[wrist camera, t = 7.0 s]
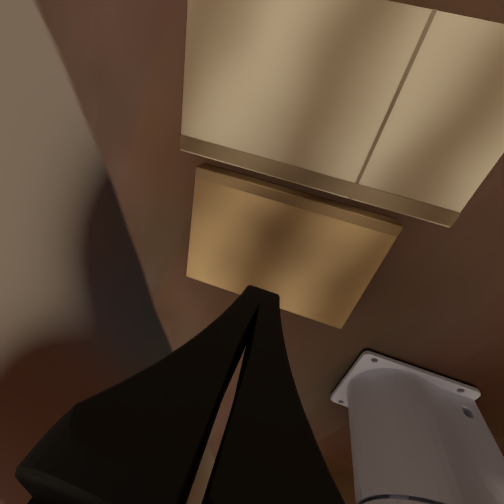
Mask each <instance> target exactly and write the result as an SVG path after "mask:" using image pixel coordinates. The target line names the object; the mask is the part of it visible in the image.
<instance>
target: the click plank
mask: <svg viewBox="0 0 504 504" xmlns="http://www.w3.org/2000/svg"><path fill="white" fill-rule="evenodd" d="M402 229H403V227H402V225H401V224H400V222H399V221H398V220H397V219H394V218H390V217H387V216H383V215H380V214H377V213H373V212H370V211H366V210H363V209H359V208H356V207H353V206H349V205H346V204H342V203H339V202H335V201H332V200H328V199H325V198H322V197H318V196H315V195H311V194H308V193H304V192H301V191H297V190H294V189H291V188H287V187H284V186H280V185H277V184H273V183H270V182H267V181H263V180H260V179H256V178H253V177H249V176H246V175H242V174H239V173H236V172H232V171H229V170H225V169H222V168H218V167H215V166H211V165H208V164H205V163H204V164H201V165H199V166H197V167H196V172H195V188H194V199H193V210H192V221H191V231H190V242H189V253H188V264H187V275H186V276H187V277H190V278H193V279H196V280H199V281H202V282H205V283H208V284H211V285H213V286H216V287H219V288H222V289H225V290H228V291H231V292H234V293H237V294H240V295H241V294H242V292H243V291H244V290H245V288H246V287H247V286H248V285H252V286H255V287H258V288H261V289H264V290H267V291H270V292H273V293H276V294H278V295H279V296H280V308H281V309H283V310H286V311H289V312H292V313H295V314H298V315H301V316H304V317H307V318H310V319H313V320H316V321H318V322H321V323H324V324H327V325H330V326H333V327H336V328H339V329H342V327H343V325H344V324H345V322H346V320H347V319H348V317H349V315H350V314H351V312H352V310H353V309H354V307H355V305H356V304H357V302H358V300H359V299H360V297H361V296H362V294H363V292H364V291H365V289H366V287H367V286H368V284H369V282H370V281H371V279H372V277H373V276H374V274H375V272H376V271H377V269H378V268H379V266H380V264H381V263H382V261H383V259H384V258H385V256H386V254H387V253H388V251H389V249H390V248H391V246H392V244H393V243H394V241H395V239H396V238H397V237H398V236H399V234H400V232H401V231H402Z"/></svg>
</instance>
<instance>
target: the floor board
mask: <svg viewBox="0 0 504 504" xmlns="http://www.w3.org/2000/svg"><path fill="white" fill-rule="evenodd" d="M179 149H180V150H181V151H185V152H188V153H192V154H195V155H199V156H202V157H206V158H209V159H213V160H216V161H220V162H223V163H227V164H230V165H234V166H237V167H241V168H244V169H247V170H251V171H254V172H258V173H261V174H265V175H268V176H272V177H275V178H279V179H282V180H286V181H289V182H293V183H296V184H300V185H303V186H307V187H310V188H313V189H317V190H320V191H324V192H327V193H331V194H334V195H338V196H341V197H345V198H348V199H350V200H351V199H352V200H355V201H359V202H362V203H366V204H369V205H373V206H376V207H379V208H383V209H386V210H390V211H393V212H397V213H400V214H404V215H407V216H411V217H414V218H418V219H421V220H425V221H428V222H432V223H435V224H439V225H442V226H445V227H452V225H453V224H454V222H455V221H456V220H457V218H458V217H459V216H460V214H461V213H460V212H461V210H462V209H463V208H464V206H465V205H466V204H467V202H468V201H469V199H470V198H471V197H472V195H473V194H474V193H475V191H476V190H477V188H478V187H479V186H480V184H481V183H482V182H483V180H484V179H485V177H486V176H487V175H488V173H489V172H490V170H491V169H492V168H493V166H494V165H495V164H496V162H497V161H498V159H499V158H500V157H501V155H502V154H503V153H504V24H501V23H496V22H491V21H486V20H481V19H476V18H471V17H466V16H461V15H456V14H451V13H446V12H442V11H437V10H436V9H433V10H432V9H427V8H422V7H417V6H412V5H407V4H402V3H397V2H392V1H387V0H188V11H187V30H186V49H185V69H184V88H183V108H182V127H181V134H180V146H179Z"/></svg>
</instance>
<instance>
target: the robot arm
mask: <svg viewBox="0 0 504 504" xmlns="http://www.w3.org/2000/svg"><path fill="white" fill-rule="evenodd" d="M245 346H246V348H245ZM244 349H245V352H244V357H243V361H242V366H241V370H240V374H239V379H238V383H237V388H236V392H235V396H234V400H233V404H232V408H231V411H230V415H229V418H228V421H227V424H226V427H225V431H224V434H223V437H222V440H221V443H220V447H219V450H218V453H217V456H216V459H215V462H214V466H213V469H212V472H211V475H210V478H209V481H208V485H207V488H206V491H205V494H204V498H203V501H202V504H345V502H344V500H343V498H342V496H341V494H340V492H339V490H338V488H337V486H336V484H335V482H334V480H333V478H332V476H331V473H330V471H329V469H328V467H327V465H326V462H325V460H324V458H323V456H322V453H321V451H320V449H319V447H318V444H317V442H316V439H315V437H314V434H313V432H312V429H311V427H310V424H309V422H308V419H307V417H306V414H305V412H304V409H303V406H302V404H301V401H300V398H299V395H298V392H297V389H296V386H295V382H294V379H293V376H292V372H291V369H290V365H289V361H288V357H287V352H286V348H285V343H284V338H283V332H282V325H281V317H280V296H279V295H278V294H276V293H273V292H270V291H267V290H264V289H261V288H258V287H255V286H252V285H248V286H247V287H246V288H245V290H244V291H243V292H242V294H241V295H240V296H239V297H238V298H237V299H236V300H235V302H234V303H233V304H232V305H231V306H230V307H229V308H228V309H227V310H226V311H225V312H224V313H222V314H221V315H220V316H219V317H218V318H217V319H216V320H215V321H213V322H212V323H211V324H210V325H209V326H208V327H206V328H205V329H204V330H203V331H202V332H200V333H199V334H198V335H196V336H195V337H194V338H192V339H191V340H190V341H188V342H187V343H185V344H184V345H183V346H181V347H180V348H178V349H177V350H175V351H174V352H172V353H171V354H169V355H168V356H166V357H164V358H163V359H161V360H160V361H158V362H157V363H155V364H153V365H151V366H149V367H147V368H146V369H144V370H142V371H140V372H139V373H137V374H135V375H133V376H132V377H130V378H128V379H126V380H124V381H122V382H120V383H118V384H116V385H114V386H112V387H110V388H108V389H106V390H104V391H102V392H100V393H98V394H95V395H93V396H91V397H89V398H87V399H85V400H83V401H81V402H79V403H77V404H75V405H74V406H73V407H72V408H71V409H70V410H69V411H68V412H67V413H66V414H65V415H64V416H62V417H61V418H60V420H59V421H58V422H56V423H55V424H54V425H53V426H52V427H51V428H50V429H49V430H48V432H47V433H46V434H45V435H44V436H43V437H42V438H41V440H40V441H39V442H38V443H37V444H36V445H35V447H34V448H33V449H32V450H31V451H30V452H29V454H28V455H27V456H26V457H25V458H24V459H23V461H22V462H21V463H20V464H19V465H18V466H17V468H16V474H15V476H16V478H17V480H18V481H19V482H20V483H21V484H22V485H23V487H24V488H25V489H26V490H27V491H28V492H29V493H30V494H31V495H32V498H31V500H30V501H29V503H28V504H186V503H187V500H188V497H189V494H190V491H191V488H192V485H193V482H194V480H195V477H196V474H197V471H198V468H199V465H200V462H201V459H202V456H203V453H204V450H205V448H206V445H207V442H208V439H209V436H210V433H211V430H212V427H213V424H214V421H215V419H216V416H217V413H218V410H219V407H220V404H221V402H222V399H223V397H224V394H225V392H226V390H227V387H228V385H229V383H230V381H231V378H232V376H233V374H234V372H235V369H236V367H237V365H238V362H239V360H240V358H241V356H242V353H243V351H244ZM480 396H481V393H480V392H479V390H478V389H477V388H475V387H472V386H469V385H466V384H463V383H460V382H458V381H455V380H452V379H449V378H446V377H443V376H440V375H437V374H435V373H432V372H429V371H426V370H423V369H420V368H417V367H414V366H412V365H409V364H406V363H403V362H400V361H397V360H394V359H391V358H389V357H386V356H383V355H380V354H377V353H374V352H371V351H364V352H363V353H362V354H361V355H360V356H359V358H358V359H357V360H356V362H355V363H354V365H353V366H352V367H351V369H350V370H349V371H348V373H347V374H346V375H345V377H344V378H343V379H342V381H341V382H340V383H339V385H338V386H337V387H336V389H335V390H334V392H333V393H332V394H331V400H332V401H333V402H335V403H338V404H340V405H343V406H346V407H348V412H349V424H350V436H351V448H352V461H353V473H354V485H355V497H356V504H504V457H503V455H502V453H501V451H500V449H499V447H498V446H497V444H496V442H495V440H494V438H493V436H492V434H491V432H490V430H489V428H488V426H487V424H486V422H485V420H484V418H483V417H482V415H481V413H480V411H479V409H478V407H477V405H476V403H475V400H476V399H477V398H479V397H480Z"/></svg>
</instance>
